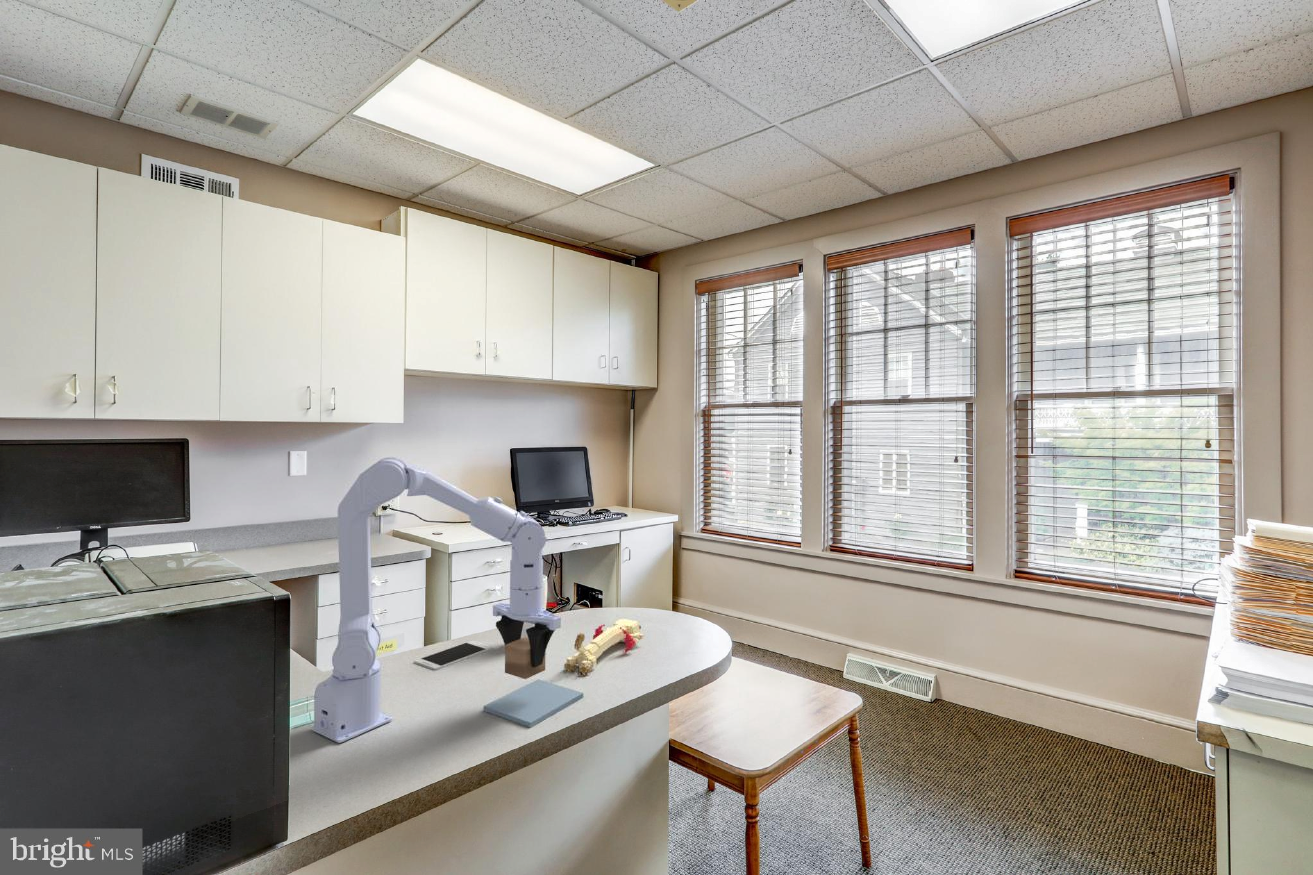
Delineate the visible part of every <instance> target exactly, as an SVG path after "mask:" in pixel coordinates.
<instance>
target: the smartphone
mask: <svg viewBox="0 0 1313 875" xmlns="http://www.w3.org/2000/svg"><path fill="white" fill-rule="evenodd" d="M492 650H494V646H493V645H489V644H486V643H483V642H480V641H476V640H473V639H472V640H469V641H466V642H463V643H461V644H460V643H459V644H458V645H454V646H451V647H450V648H445V649H444V650H441V651H438V652H435V653H432V654H429V655H426V656H424V657H420V658H416V659H415V660H414V662H413V663H414V664H416V665H419V666H422V667H424V668H426V669H431V670H433V671H439V670H441V669H443V668H446V667H447V668H448V667H450V666H452V665H454V664H457V663H459V662H463V661H465V660H468V659H470V658H474V657H476V656H478V655H482V654H484V653H487V652H489V651H492Z"/></svg>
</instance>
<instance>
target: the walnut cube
mask: <svg viewBox="0 0 1313 875" xmlns="http://www.w3.org/2000/svg"><path fill="white" fill-rule="evenodd" d="M504 649H505V651H504V654H505V655H504V673H505V674H508V675H511V676H514V677H517V678H519V679H520V678H521V679H524V680H527V679H529V678H532V677H533V676H536V675H538V674H539V673H543V672H544V671H546V651H547V650H546V651H545V655H544V658H543V663H542V664H541V665H539V666H537V667H532V665H531V650H530V643H529V639H528V638H527V637H524V638H521V639H519V640H516V641H514V642H511V643H509V644H506V645H505V644H504Z"/></svg>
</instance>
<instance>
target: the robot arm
mask: <svg viewBox="0 0 1313 875" xmlns="http://www.w3.org/2000/svg"><path fill="white" fill-rule="evenodd" d="M405 490H407V494H406V497H416V496H427V497H429V498H431V499H434V500H436V501H437V502H440V503H441V504H444V505H446V506H448V507H451V508H452V509H455V510H457V511H458V512H461V513H463V514H465V515H466V516H469V521H470V524H471V526H472V527H473V528H476V529H478V530H479V531H481V532H484V533H486V534H488V535H489V536H491V537H493V538H495V539H497V540H499V541H501V542H505V543H506V542H507V543H510V544H511V545H512V546H511V559H510V562H509V563H510V564H509V603H504V602H503V603H502V602H499V603H497V604H493V605H492V616H493V617H501V618H500V620H497V621H496V622H495V627H496V629H497V630H498V632H499V634H500V636H501V638H502V641H503V644H504V646H505V645H506V644H509V643H511V642H514V641H516V640H519V639H521V633H522V628H523V624H524V622H528V623H532V624H535V627H531V628H528V629H526V633H527V635H528V639H529V643H530V650H531V665H532V667H537V666H539V665H541V664H542V663H543V658H544V655H545V651H547V649H548V648H547V647H548V645H549V642H550V640H551V638H552V637H553V635H554V632H555V631H556V630H558V629H560V628H561V627H562V625H561V622H562V616H559V615H557V614H554V613H552V612H549V611H548V610H547V609H546V610H544V606H542V592H543V575H544V574H543V573H544V559H543V552H544V551H543V548H544V547H545V545H546V542H547V537H546V533H545V530H544V529H543V527H542V526H541V524H540V523H539V522H538V521H537V520H535V519H534V518H533V517H532V516H530V515H527V513H526V512H525V511H523V510H520V511H517V510H516V509H513V508H511V507H510V506H507V505H506V504H504V503H503V499H502V498H500V497H498V496H494V498H492V497H491V496H485V497H482V498H477V497H474V496H472V495H471V494H470V493H468V492H466V491H464V490H462V489H460V488H459V487H457V486H455V485H453V484H451V482H448V481H446V480H444V479H443V478H441V477H439V476H438V475H435V474H434V473H432V472H430V471H428V470H426V469H424V468H421V467H420V466H417V465H415V464H410V463H407V464H406V463H405V462H404V461H402V460H401V459H399V458H396V457H384V458H382V459H380V460H378V461H376V462H375V463H374V464H372V465H370V466H369V467H368V468H366V470H364V471H363V472H361V473H360V474H359V475H358V477H357V478H356V479H355V481H354V483H353V484H352V486H351V487H350V488H349V490H348V491H347V492H346V494H344V497H343V498H342V500H341V501H340V502H339V504H338V507H337V532H338V534H337V535H338V536H337V538H338V539H337V540H338V572H339V574H338V576H339V604H340V605H339V606H340V607H339V609H340V618H339V624H338V633H337V639H338V640H337V645H336V647H335V649H334V651H333V653H332V656H331V664H332V667H333V669H332V673H331V675H330V676H329V677H327V678H325V680H323V681H321V682H319V683H318V684H316V687H315V689H314V693H313V694H314V698H313V700H314V702H313V703H314V704H313V705H314V706H313V708H314V709H313V713H314V714H313V715H314V716H313V726H311V728H310V729H312V730H311V731H313V732H315V733H317V734H319V735H321V736H324V737H325V738H328V739H330V740H332V741H334V742H336V743H338V744H340V743H344V742H346V741H348V740H350V739H353V738H356V737H358V736H360V735H361V734H364V733H366V732H368V731H371V730H372V729H376V728H378V727H380V726H382V725H384V724H387V723H388V722H391V721H392V720H393V717H392V716H391V715H388V714H385V713H383V712H382V711H381V710H382V709H381V708H382V707H381V706H382V705H381V699H382V696H381V694H382V691H381V690H382V689H381V688H382V686H381V684H382V678H381V677H382V663H381V662H380V660H378V658H377V655H376V654H377V651H378V649H379V647H380V644H381V634H380V631H379V629H378V627H377V626H376V624H375V615H374V610H373V593H372V555H371V554H372V553H371V552H372V550H371V519H370V518H371V515H372V514H374V512H376V511H377V510H378V509H379V508H380V507H381V505H383V504H386V503H388V502H390V501H392V500H394V499H396V498H398V497H399V496H401V495H402V494H403V492H405ZM545 656H546V655H545Z"/></svg>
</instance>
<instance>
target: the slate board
mask: <svg viewBox="0 0 1313 875" xmlns="http://www.w3.org/2000/svg"><path fill="white" fill-rule="evenodd" d="M583 698H584V692H581V691H579V690H575V689H573V688H569V687H565V686H562V685H559V684H556V683H553V682H550V681H549V682H548V681H545V680H541V679H535V680H534V681H532V682H530V683H528V684H526V685H523V686H522V687H520V688H517V689H516V690H513V691H512V692H510V693H507V694H504V695H503V696H500V697H499V698H497V699H495V700H493V701H491V702H488V703H487V704H485V705H483V709H482V710H483V712H487V713H488V714H492V715H495V716H497V717H500V718H502V719H505V720H509V721H510V722H514V723H516V724H519V725H523V726H524V727H528V728H532V727H534V726H536V725H537V724H540V723H542V722H543V721H544V720H547V719H548V718H550V717H552V716H553V715H555V714H556V713H558V712H560V711H562V710H564V709H566V708H567V707H569V706H571V705H572V704H574V703H576V702H577V701H579V700H581V699H583Z"/></svg>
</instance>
